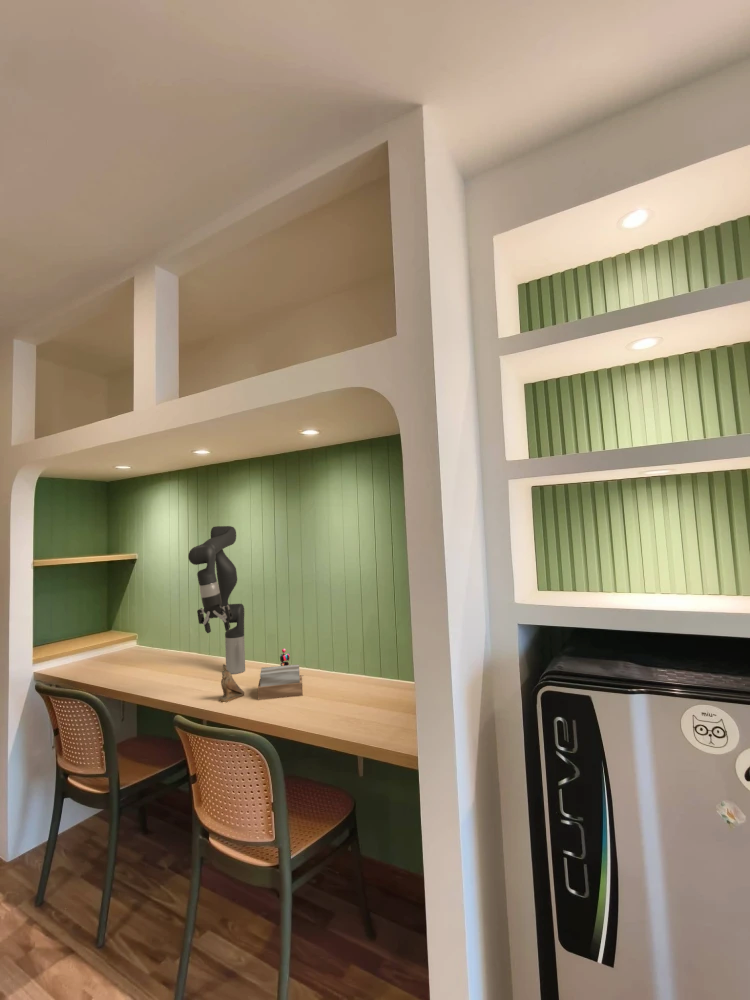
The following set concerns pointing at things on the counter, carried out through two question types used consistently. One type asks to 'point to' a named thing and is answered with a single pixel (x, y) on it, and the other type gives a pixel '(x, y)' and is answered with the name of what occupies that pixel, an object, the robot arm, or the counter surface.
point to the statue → (284, 658)
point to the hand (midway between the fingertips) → (218, 631)
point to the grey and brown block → (280, 682)
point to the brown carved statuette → (229, 687)
